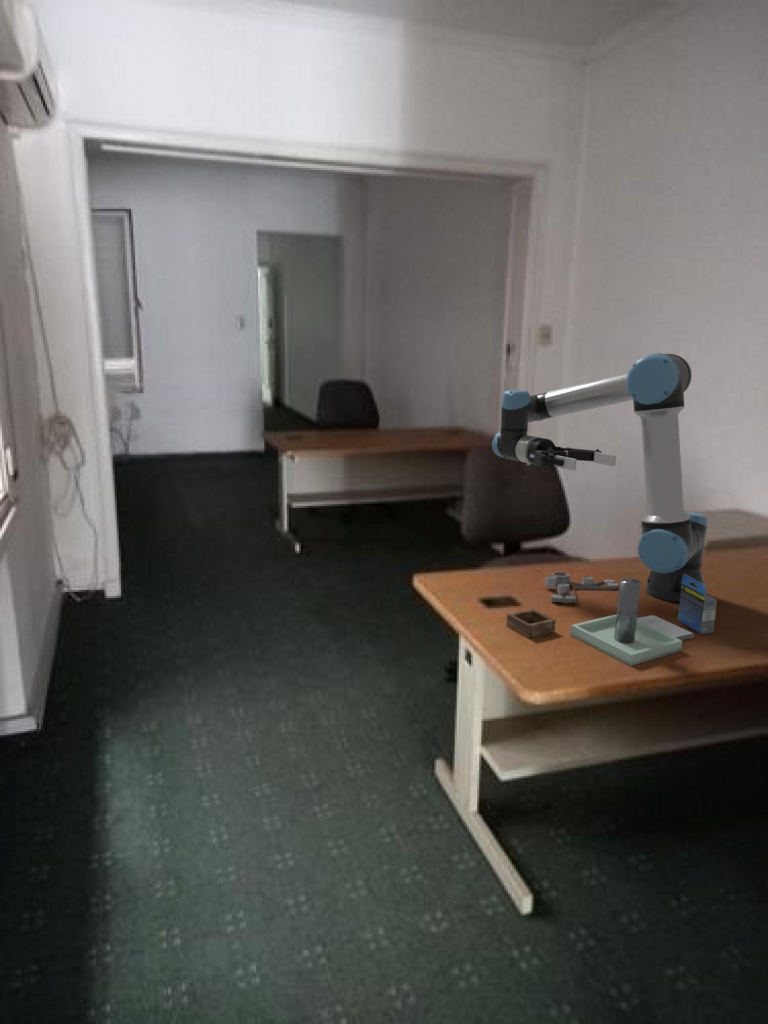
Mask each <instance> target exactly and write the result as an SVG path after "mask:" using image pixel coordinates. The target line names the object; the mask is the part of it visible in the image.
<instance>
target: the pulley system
mask: <svg viewBox="0 0 768 1024" xmlns="http://www.w3.org/2000/svg"><path fill="white" fill-rule="evenodd" d="M570 577H571V575H570V574H569V573H568V572H562V571H555V572H552V573H551V575H545V585H544V587H546V588H549V589H557V588H558V589H557V593H558V594H552V595H550V601H552V602H559V603H570V604H573V603H574V604H575V603H577V598H578V597H577V595H576V591H575V590H613V589H616V590H619V589H618V588H619V585H620V584H619V583H617V582H616V581H615V580H614V579H609V578H608V579H603V580H601V581H599V582H595V577H593V576H588V575H587V576H585V575H584V576H582V583H580V582H573V581H572V580H571V578H570ZM573 584H576V585H574V586H572V591H573V595H570V587H569V586H571V585H573ZM599 584H600V585H599ZM602 584H604V585H603V586H602ZM578 585H579V586H578ZM556 587H557V588H556ZM563 597H564V598H563Z"/></svg>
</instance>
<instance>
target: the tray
mask: <svg viewBox="0 0 768 1024" xmlns="http://www.w3.org/2000/svg"><path fill="white" fill-rule="evenodd" d="M616 616H617V613H616V614H612V615H608V616H602V617H599V618H595V619H591V620H586V621H583V622H578V623H574V624H571V625H570V630H569V631H570V632H569V635H570V637H573V638H575V639H577V640H579V641H581V642H582V643H585V644H587V645H588V646H590V647H593V648H594V649H596V650H598V649H599V650H598V651H599V652H603V653H604V654H606V655H608V656H610V657H612V658H614V659H616V660H618V661H619V662H622V663H624V664H626V665H628V666H630V667H632V666H635V665H638V664H641V663H646V662H650V661H652V660H655V659H656V660H657V659H659V658H662V657H666V656H669V655H673V654H677V653H680V652H682V647H683V646H682V645H683V640H679V639H677V638H675V637H673V636H670V635H668V634H666V633H664V632H661V631H659V630H657V629H654V628H652V627H650V626H648V625H645V624H643V623H641V622H639V621H637V623H636V632H635V641H634V642H633V643H630V644H626V643H620V642H618V641H616V640H615V639H614V636H615V626H616Z"/></svg>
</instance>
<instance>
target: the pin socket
mask: <svg viewBox="0 0 768 1024" xmlns="http://www.w3.org/2000/svg"><path fill="white" fill-rule="evenodd" d="M530 622H531V623H530ZM532 622H533V623H532ZM507 626H508V627H507ZM506 627H507V628H509V627H510V628H509V629H511V628H512V630H513V629H514V630H515V632H516V631H517V632H516V633H518V632H519V633H518V634H520V633H521V634H520V635H522V634H523V635H525V636H526V638H527V637H528V639H531V638H530V637H532V638H535V637H540V636H544V635H548V633H549V634H551V632H553V633H555V632H556V619H555V618H553V617H550V616H549V615H546V614H544V613H542V612H541V611H538V610H536V609H534V608H531V609H526V610H522V611H518V612H512V613H507V615H506ZM514 630H513V631H514ZM554 631H555V632H554ZM523 635H522V636H523ZM525 636H524V637H525Z"/></svg>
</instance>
